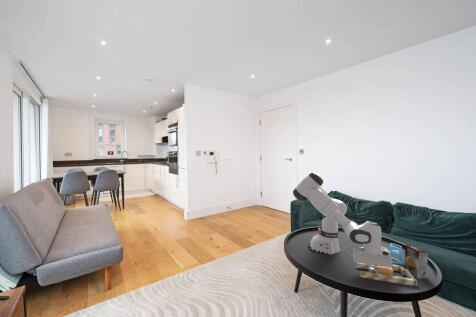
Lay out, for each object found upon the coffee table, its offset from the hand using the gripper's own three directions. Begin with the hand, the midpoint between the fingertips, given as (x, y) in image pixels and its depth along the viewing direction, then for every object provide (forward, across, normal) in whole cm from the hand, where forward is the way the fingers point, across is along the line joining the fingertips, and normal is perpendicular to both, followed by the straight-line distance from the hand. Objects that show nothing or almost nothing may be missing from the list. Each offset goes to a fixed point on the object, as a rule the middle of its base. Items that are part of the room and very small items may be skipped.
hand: (371, 271), depth 126 cm
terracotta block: (+2, +6, 0) cm, 7 cm away
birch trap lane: (+2, +7, +2) cm, 7 cm away
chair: (+2, +19, +21) cm, 28 cm away
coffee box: (+2, +25, +9) cm, 27 cm away
